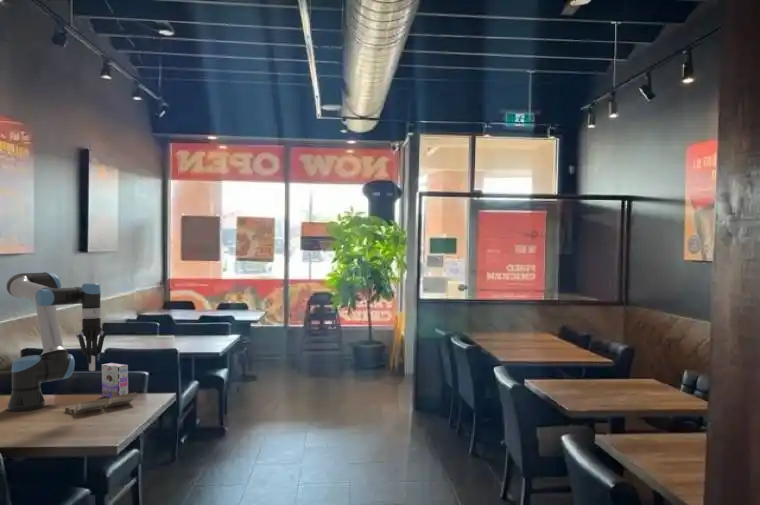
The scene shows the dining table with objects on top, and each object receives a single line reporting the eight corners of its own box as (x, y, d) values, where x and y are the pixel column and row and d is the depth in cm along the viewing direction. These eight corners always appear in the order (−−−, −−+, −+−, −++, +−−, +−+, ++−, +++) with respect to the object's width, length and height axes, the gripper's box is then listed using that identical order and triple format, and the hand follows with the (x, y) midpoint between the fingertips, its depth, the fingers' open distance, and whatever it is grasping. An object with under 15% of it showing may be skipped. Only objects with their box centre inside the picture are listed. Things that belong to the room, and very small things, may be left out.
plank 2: (105, 407, 292) (104, 403, 292) (129, 402, 301) (128, 399, 301) (113, 400, 287) (111, 396, 288) (137, 396, 296) (136, 392, 297)
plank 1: (74, 413, 281) (73, 409, 281) (100, 408, 290) (99, 404, 290) (82, 406, 276) (81, 402, 277) (108, 401, 285) (107, 397, 286)
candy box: (128, 398, 312) (128, 364, 312) (118, 400, 307) (118, 366, 307) (111, 394, 319) (111, 362, 319) (101, 397, 314) (100, 364, 315)
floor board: (65, 411, 285) (64, 407, 285) (121, 400, 306) (121, 396, 306) (72, 414, 281) (72, 409, 281) (129, 402, 301) (129, 398, 301)
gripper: (80, 319, 276) (81, 373, 275) (109, 316, 286) (110, 369, 285) (72, 318, 280) (73, 371, 280) (101, 316, 290) (102, 367, 290)
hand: (92, 370), depth 283 cm, fingers closed
